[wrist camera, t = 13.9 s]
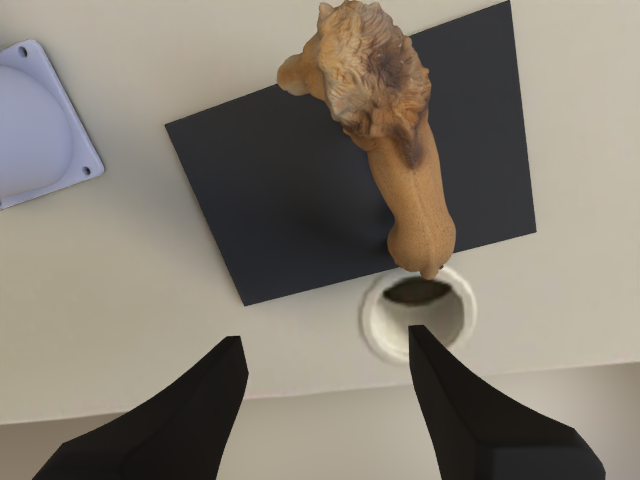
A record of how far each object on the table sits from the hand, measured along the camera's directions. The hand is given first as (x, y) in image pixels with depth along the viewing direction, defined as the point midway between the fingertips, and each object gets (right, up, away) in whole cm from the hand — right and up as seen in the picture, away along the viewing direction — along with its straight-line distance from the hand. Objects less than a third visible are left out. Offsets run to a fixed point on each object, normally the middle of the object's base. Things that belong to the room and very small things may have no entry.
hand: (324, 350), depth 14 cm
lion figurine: (+4, +9, +6) cm, 12 cm away
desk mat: (+2, +9, +7) cm, 11 cm away
